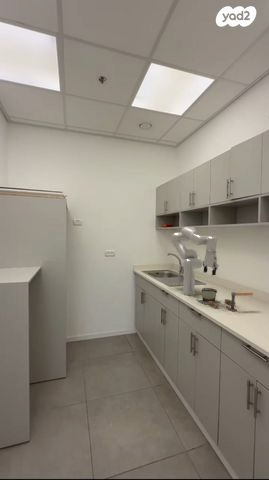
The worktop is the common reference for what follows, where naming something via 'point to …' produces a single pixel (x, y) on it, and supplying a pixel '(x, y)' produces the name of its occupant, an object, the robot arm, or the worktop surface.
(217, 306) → the wooden blocks
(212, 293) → the food container
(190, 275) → the robot arm
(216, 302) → the mat
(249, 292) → the tall wooden post
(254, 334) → the worktop surface
